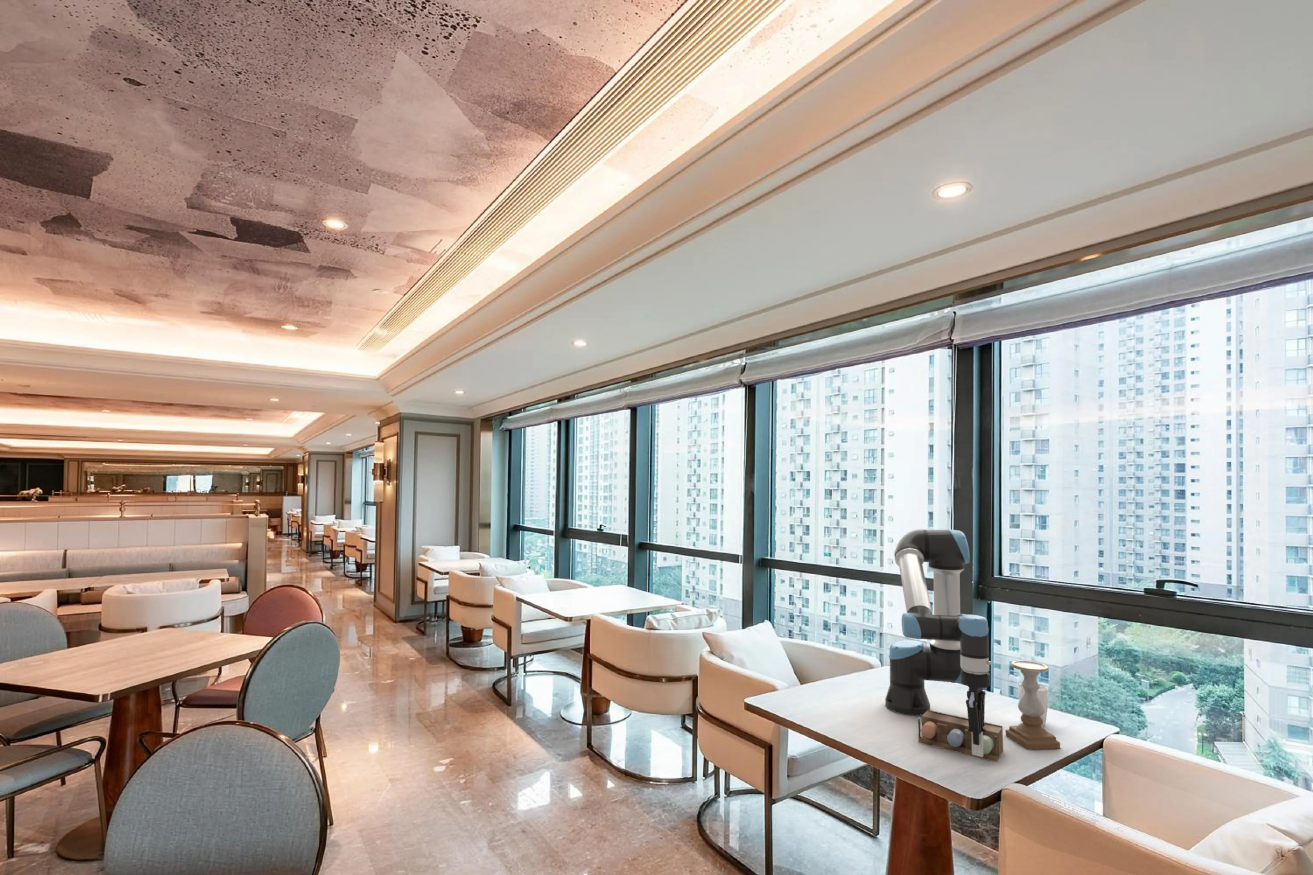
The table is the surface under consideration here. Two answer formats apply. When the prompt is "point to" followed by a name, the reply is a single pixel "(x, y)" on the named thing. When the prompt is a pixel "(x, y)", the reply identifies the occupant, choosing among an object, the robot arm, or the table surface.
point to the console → (951, 722)
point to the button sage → (987, 744)
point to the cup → (1043, 697)
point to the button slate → (955, 737)
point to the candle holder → (1031, 711)
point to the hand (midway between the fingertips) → (977, 754)
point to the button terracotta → (929, 730)
